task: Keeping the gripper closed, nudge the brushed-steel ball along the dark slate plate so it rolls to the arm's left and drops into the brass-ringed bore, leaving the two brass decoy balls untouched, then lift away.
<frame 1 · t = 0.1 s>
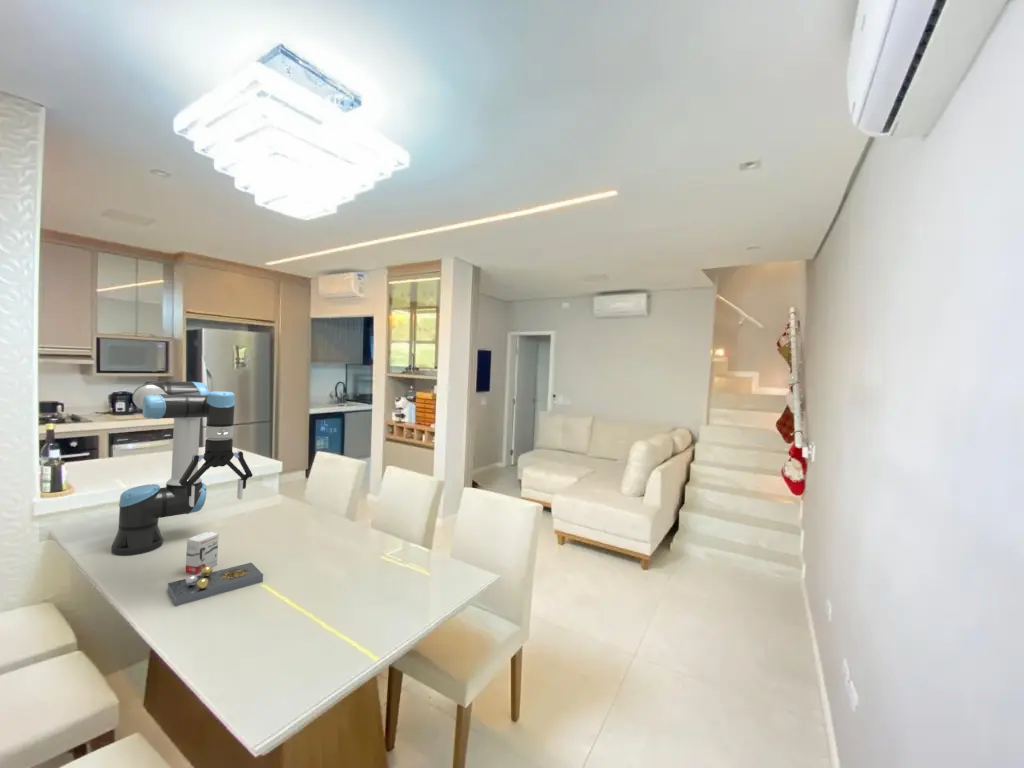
hand: (216, 502, 144), 28 cm above the table, fingers open, 13 cm apart
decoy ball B: (202, 583, 138), point 4 cm above the table, touching plate
plate: (216, 586, 145), on the table
ink box: (201, 569, 156), on the table
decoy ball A: (206, 571, 146), point 4 cm above the table, touching plate
steel ball: (191, 580, 139), point 4 cm above the table, touching plate
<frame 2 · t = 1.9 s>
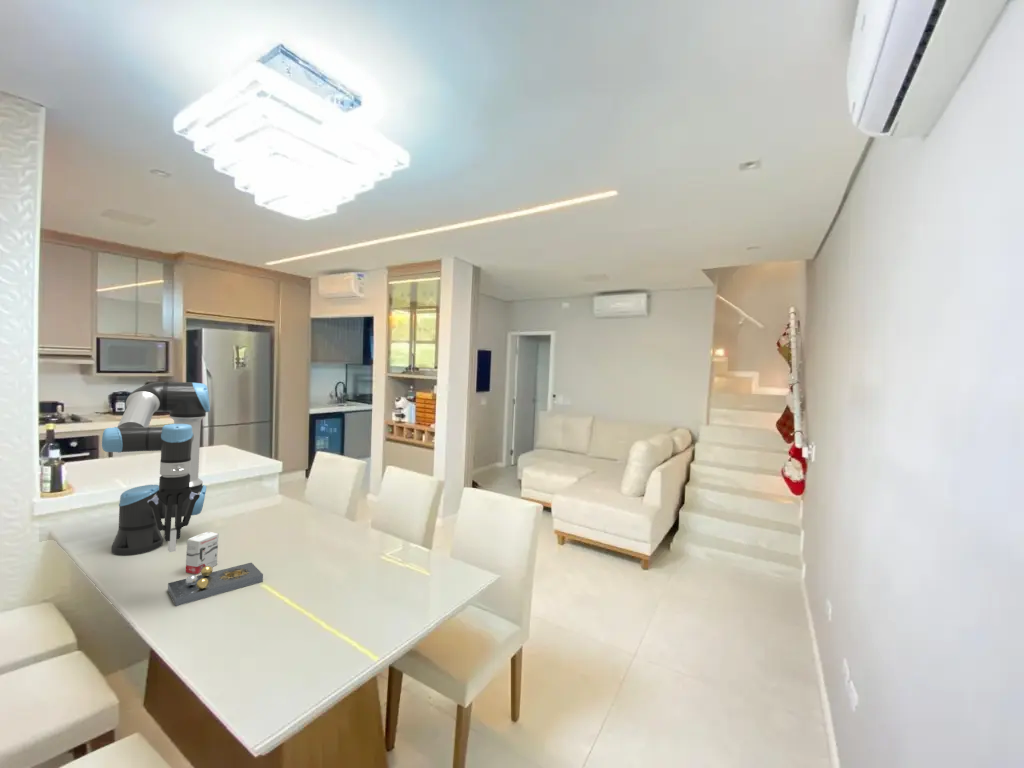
hand: (171, 550, 135), 15 cm above the table, fingers closed
nothing on the table moved.
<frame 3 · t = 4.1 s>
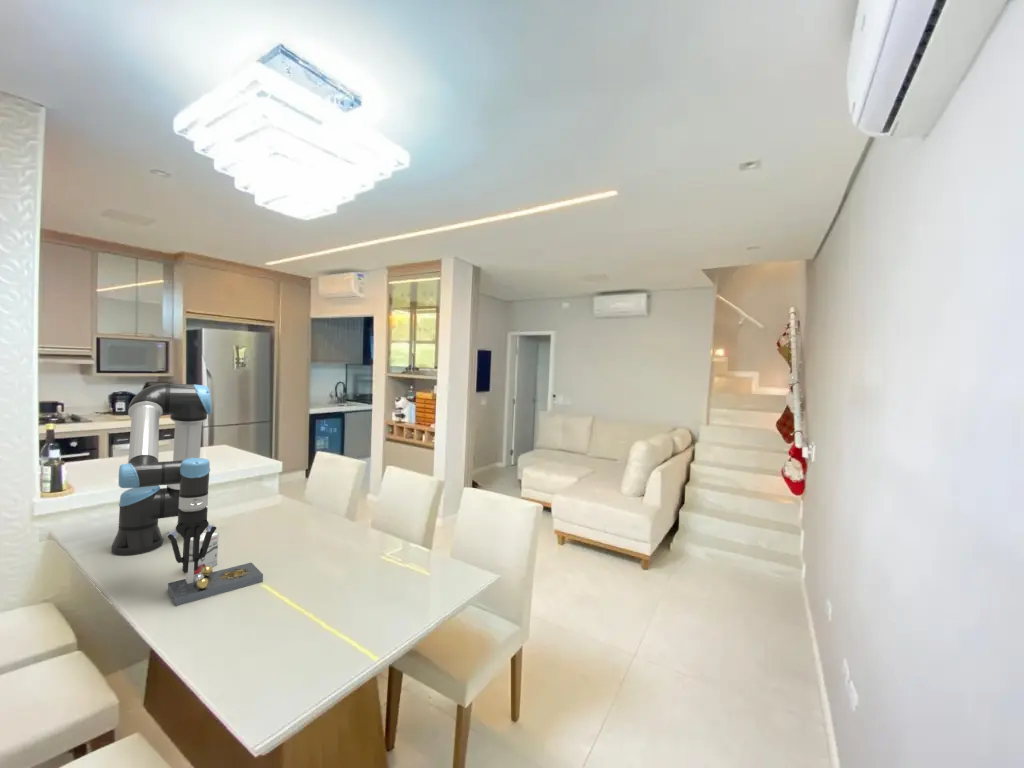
hand: (189, 581, 139), 4 cm above the table, fingers closed
steel ball: (198, 578, 140), point 4 cm above the table, tilted 56°, touching gripper, plate
everything else where it was.
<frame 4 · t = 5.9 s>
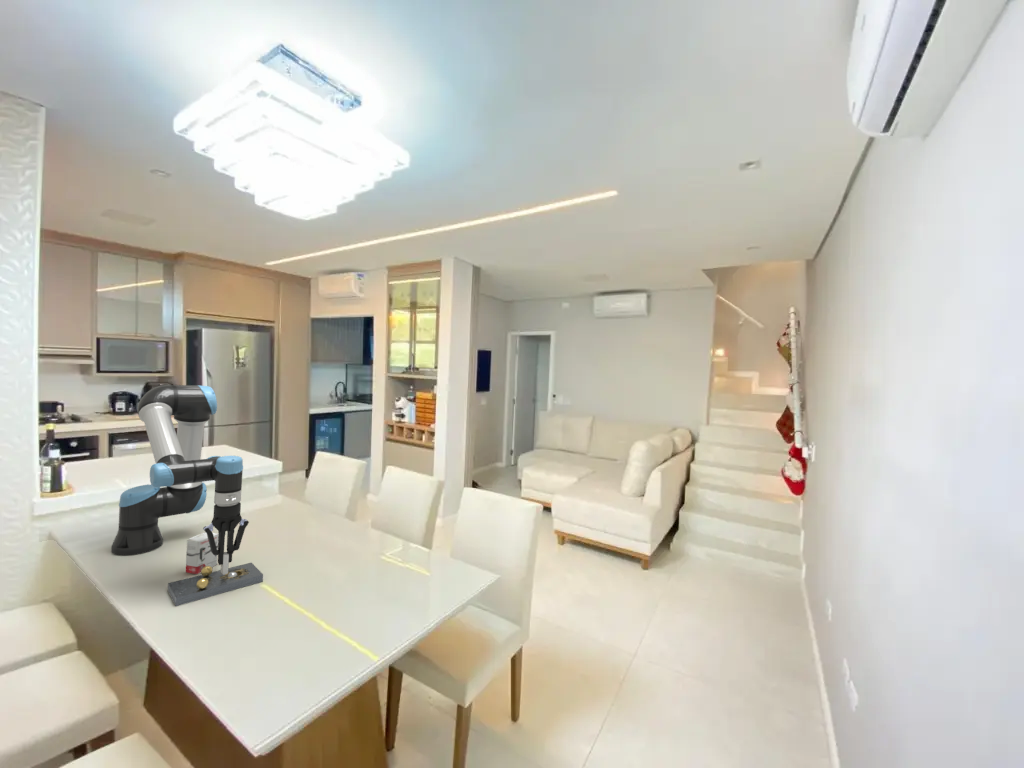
hand: (224, 572, 146), 4 cm above the table, fingers closed
steel ball: (232, 576, 148), point 2 cm above the table, tilted 36°
everything else where it was.
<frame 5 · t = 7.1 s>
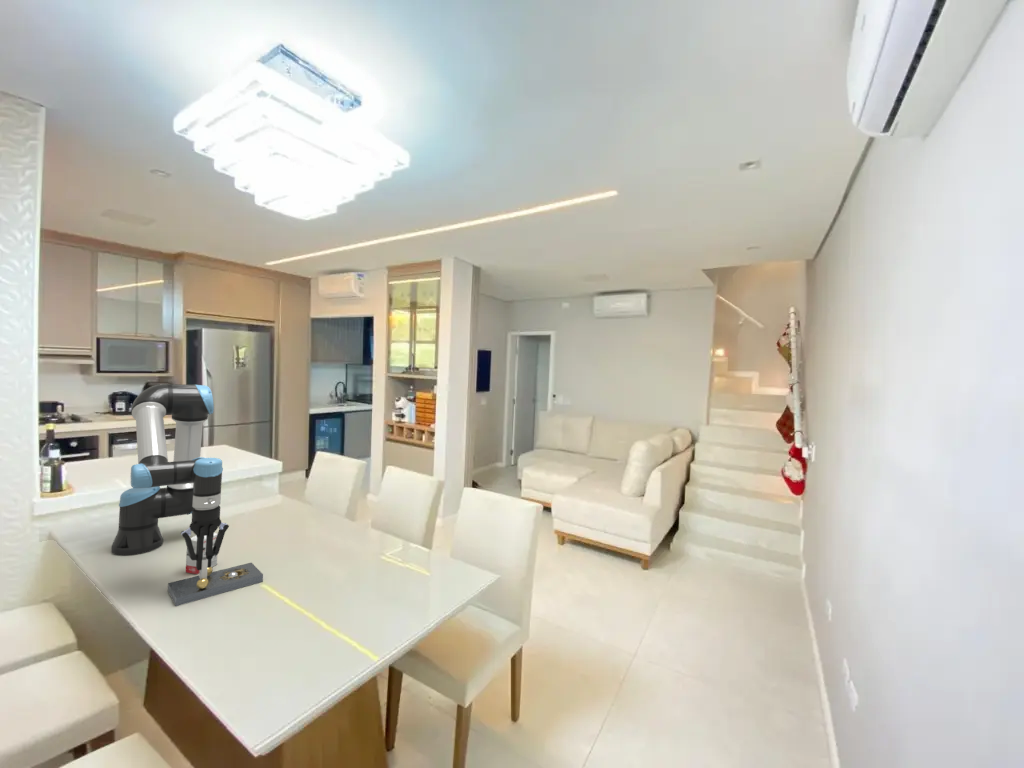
hand: (203, 578, 142), 4 cm above the table, fingers closed
nothing on the table moved.
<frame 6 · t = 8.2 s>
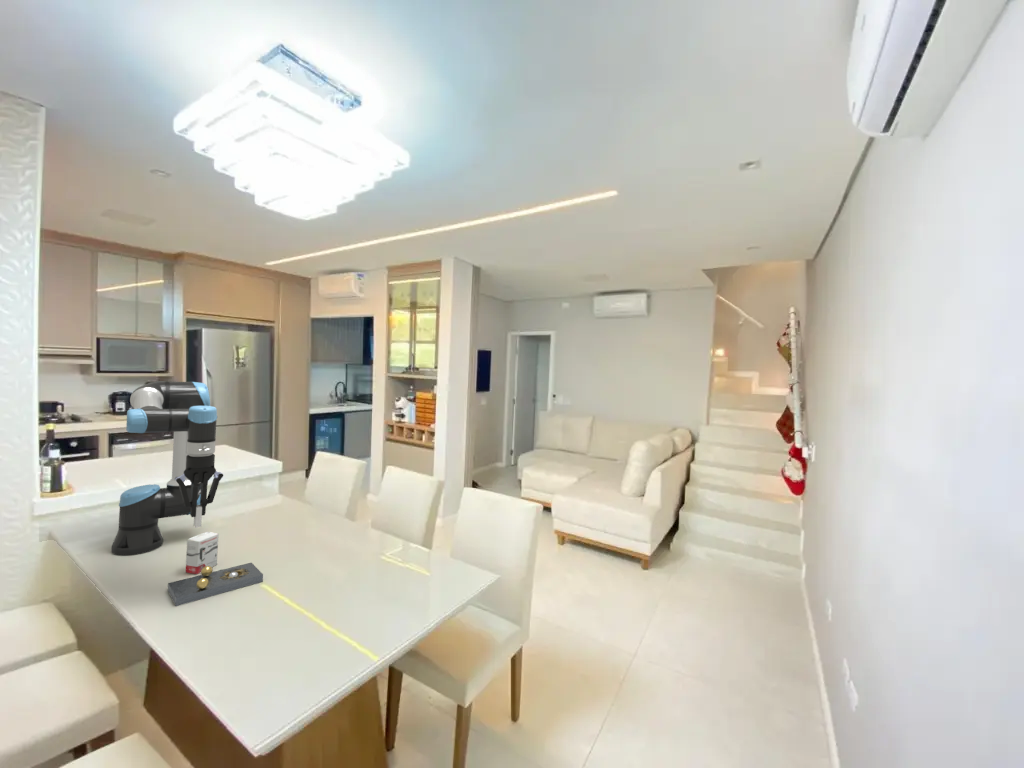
hand: (197, 525, 141), 21 cm above the table, fingers closed
nothing on the table moved.
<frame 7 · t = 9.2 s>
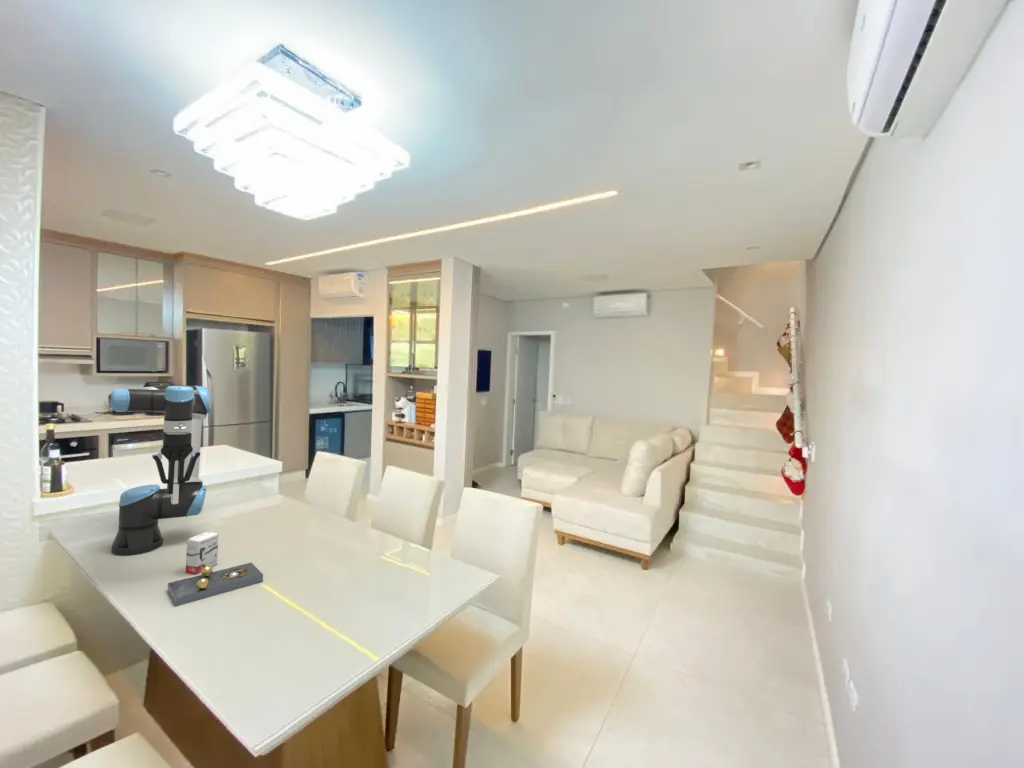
hand: (174, 502, 145), 26 cm above the table, fingers closed
nothing on the table moved.
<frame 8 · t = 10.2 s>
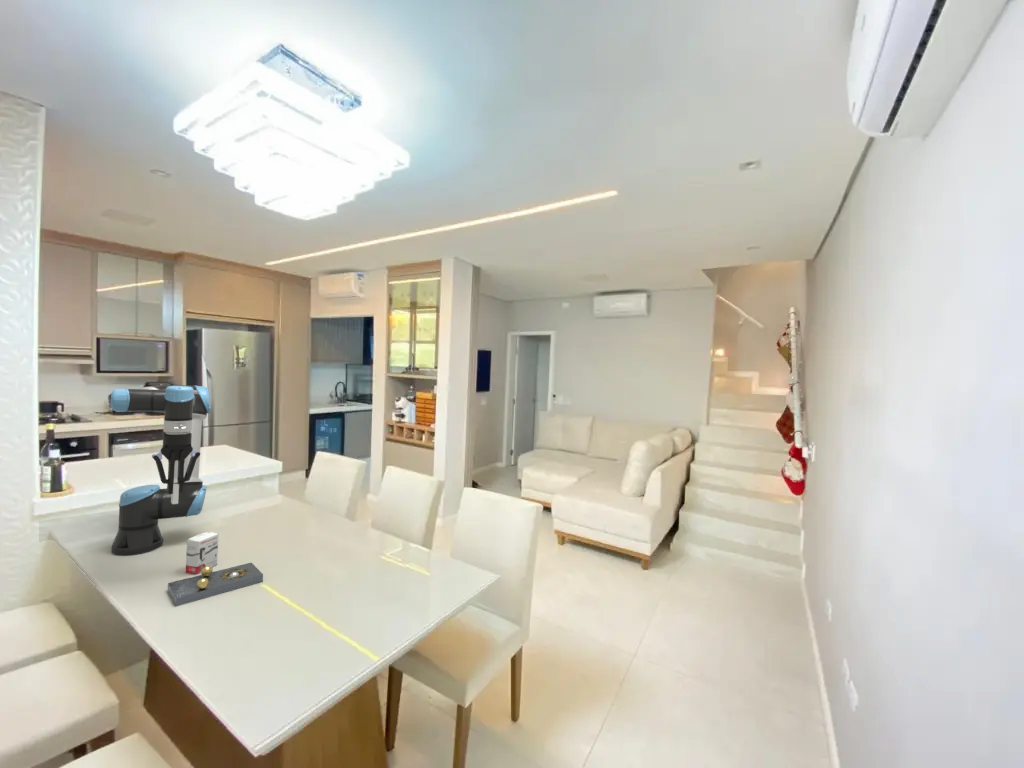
hand: (174, 502, 145), 26 cm above the table, fingers closed
nothing on the table moved.
at the end: steel ball 0.1 cm from the target spot in the plate, point 1.6 cm above the plate's base; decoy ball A moved 0.0 cm from its start; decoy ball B moved 0.0 cm from its start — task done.
